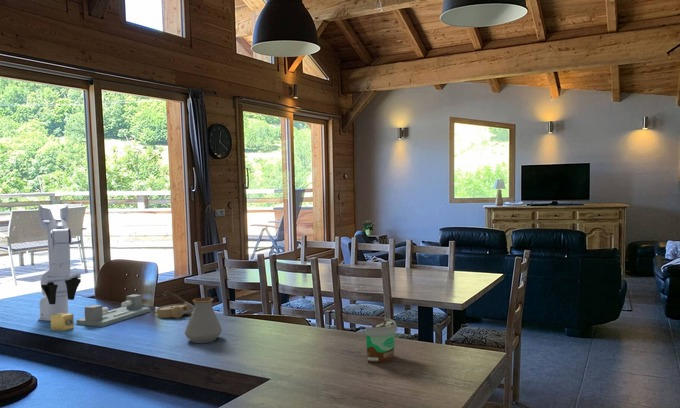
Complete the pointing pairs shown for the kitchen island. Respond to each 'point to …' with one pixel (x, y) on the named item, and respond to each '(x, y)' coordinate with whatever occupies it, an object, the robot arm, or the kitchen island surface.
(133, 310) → the long grey base plate
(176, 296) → the coffee pot
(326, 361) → the kitchen island surface
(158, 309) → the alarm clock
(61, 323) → the block
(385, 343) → the food container
